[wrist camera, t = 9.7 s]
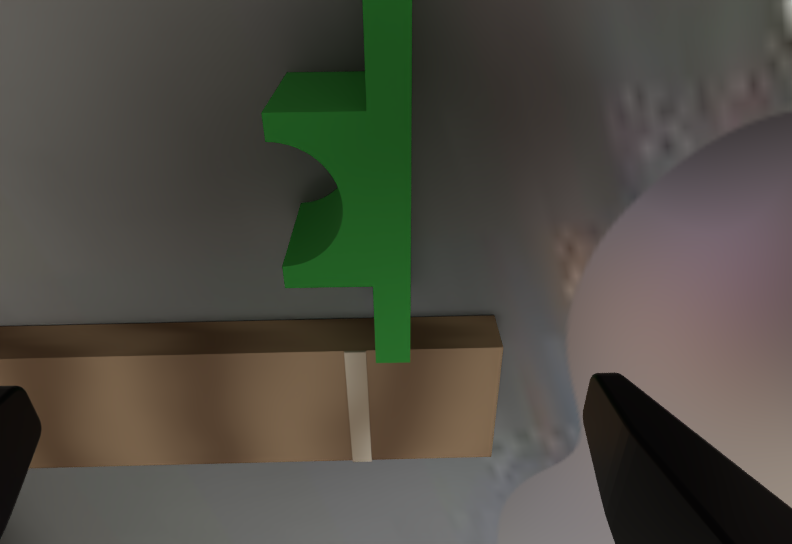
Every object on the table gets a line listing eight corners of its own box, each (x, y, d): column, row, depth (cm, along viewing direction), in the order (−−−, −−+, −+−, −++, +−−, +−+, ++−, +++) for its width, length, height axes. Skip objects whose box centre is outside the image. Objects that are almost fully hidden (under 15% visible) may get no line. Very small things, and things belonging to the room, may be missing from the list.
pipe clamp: (276, -37, 16) (241, -25, 12) (406, -39, 16) (413, -27, 12) (310, 289, 22) (294, 367, 18) (406, 287, 22) (411, 365, 18)
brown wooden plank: (-45, 434, 26) (-77, 472, 24) (-109, 329, 23) (-151, 364, 21) (483, 421, 26) (491, 458, 24) (494, 315, 23) (503, 349, 21)
